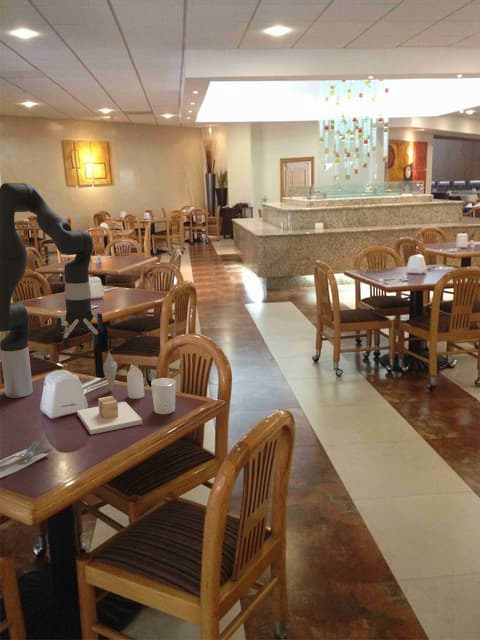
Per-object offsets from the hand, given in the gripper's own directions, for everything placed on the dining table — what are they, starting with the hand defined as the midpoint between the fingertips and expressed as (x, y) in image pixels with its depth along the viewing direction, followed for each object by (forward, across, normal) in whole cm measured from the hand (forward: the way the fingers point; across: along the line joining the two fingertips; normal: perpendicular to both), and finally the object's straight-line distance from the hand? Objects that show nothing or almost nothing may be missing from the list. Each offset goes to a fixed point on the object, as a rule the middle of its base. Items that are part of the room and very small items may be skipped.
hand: (80, 347), depth 178 cm
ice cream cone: (+24, -14, -20) cm, 34 cm away
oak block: (+22, -6, +6) cm, 23 cm away
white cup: (+23, -24, +8) cm, 34 cm away
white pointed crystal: (+24, -20, -10) cm, 33 cm away
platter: (+23, -6, +6) cm, 25 cm away
